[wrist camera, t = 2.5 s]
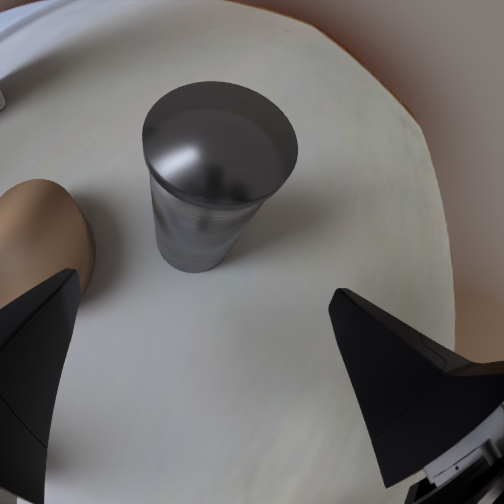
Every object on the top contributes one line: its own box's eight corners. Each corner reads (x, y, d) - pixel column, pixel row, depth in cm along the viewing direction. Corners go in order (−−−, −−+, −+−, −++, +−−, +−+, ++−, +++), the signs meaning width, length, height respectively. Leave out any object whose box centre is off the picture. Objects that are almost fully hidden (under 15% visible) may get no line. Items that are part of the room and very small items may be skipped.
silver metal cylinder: (247, 237, 24) (323, 144, 12) (194, 292, 21) (227, 238, 9) (193, 187, 24) (222, 66, 12) (138, 236, 21) (110, 127, 9)
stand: (119, 257, 20) (109, 241, 16) (40, 343, 16) (17, 344, 13) (56, 180, 20) (42, 156, 16) (-14, 256, 16) (-37, 242, 12)
